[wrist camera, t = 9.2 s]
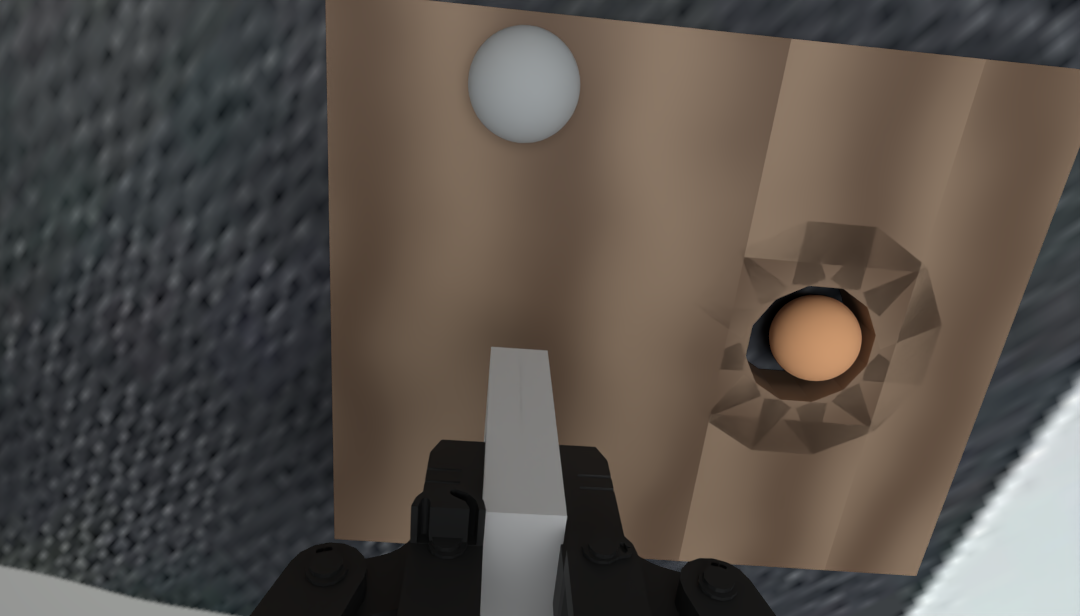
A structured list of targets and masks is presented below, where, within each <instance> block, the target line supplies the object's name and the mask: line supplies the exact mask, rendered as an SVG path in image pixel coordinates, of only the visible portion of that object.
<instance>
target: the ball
mask: <svg viewBox="0 0 1080 616" xmlns="http://www.w3.org/2000/svg"><path fill="white" fill-rule="evenodd" d="M861 342H862V334H861V328H860V325H859V323H858V321H857V319H856V317H855V316H854V314H853V313H852V311H851V310H850V309H849V308H848V307H847V306H845V305H844V304H843V303H841V302H839V301H838V300H836V299H834V298H831V297H827V296H823V295H806V296H802V297H799V298H796V299H794V300H792V301H790V302H788V303H787V304H785V305H784V306H783V307H782V308H781V309H780V310H779V311H778V312H777V314H776V315H775V317H774V319H773V321H772V323H771V326H770V331H769V344H770V349H771V351H772V354H773V356H774V358H775V359H776V361H777V362H778V364H779V365H780V366H781V367H782V368H783V369H784V370H786V371H787V372H788V373H790V374H791V375H793V376H795V377H797V378H800V379H804V380H809V381H824V380H829V379H832V378H834V377H837V376H839V375H841V374H842V373H844V372H845V371H846V370H848V369H849V368H850V367H851V365H852V364H853V363H854V362H855V360H856V358H857V356H858V354H859V352H860V348H861Z"/></svg>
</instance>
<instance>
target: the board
mask: <svg viewBox="0 0 1080 616" xmlns="http://www.w3.org/2000/svg"><path fill="white" fill-rule="evenodd" d="M517 25H531V26H537V27H540V28H543V29H545V30H547V31H549V32H551V33H553V34H554V35H556V36H557V37H558V38H559V39H561V40H562V41H563V42H564V43H565V45H566V46H567V47H568V48H569V50H570V51H571V53H572V54H573V56H574V58H575V61H576V63H577V66H578V70H579V75H580V94H579V99H578V103H577V106H576V108H575V110H574V113H573V114H572V116H571V118H570V119H569V121H568V122H567V123H566V124H565V126H563V127H562V128H561V129H560V130H559V131H558V132H557V133H555V134H554V135H552V136H550V137H548V138H546V139H544V140H541V141H537V142H533V143H517V142H511V141H508V140H505V139H503V138H501V137H499V136H497V135H495V134H494V133H492V132H491V131H490V130H489V129H487V128H486V127H485V126H484V125H483V123H482V122H481V121H480V120H479V118H478V117H477V115H476V113H475V111H474V109H473V107H472V104H471V101H470V97H469V91H468V77H469V70H470V66H471V63H472V61H473V58H474V56H475V54H476V53H477V51H478V49H479V48H480V47H481V45H482V44H483V43H484V42H485V41H486V40H487V39H488V38H489V37H491V36H492V35H493V34H495V33H497V32H498V31H500V30H502V29H505V28H507V27H511V26H517ZM326 59H327V118H328V177H329V236H330V295H331V354H332V413H333V472H334V531H335V539H344V540H359V541H375V542H391V543H407V542H408V541H409V540H410V526H411V505H412V503H413V501H414V499H415V498H416V497H417V496H418V495H419V494H420V493H422V492H423V488H424V483H425V477H426V471H427V466H428V460H429V455H430V452H431V451H432V449H433V448H434V447H435V446H436V445H437V444H438V443H439V442H440V441H441V440H460V441H477V442H484V432H485V419H486V406H487V393H488V380H489V368H490V355H491V347H503V348H518V349H532V350H547V351H548V358H549V366H550V375H551V383H552V392H553V400H554V409H555V417H556V426H557V434H558V443H559V445H573V446H590V447H596V448H597V449H598V450H599V451H600V453H601V454H602V455H603V456H604V457H605V458H606V460H607V461H608V465H609V470H610V474H611V479H612V483H613V487H614V492H615V496H616V501H617V505H618V510H619V514H620V519H621V523H622V528H623V532H624V536H625V537H626V538H627V539H628V540H629V541H630V542H632V543H633V545H634V547H635V549H636V551H637V554H638V555H639V556H640V557H641V558H643V559H659V560H675V561H692V560H695V559H698V558H714V559H717V560H721V561H724V562H727V563H729V564H738V565H753V566H769V567H785V568H801V569H816V570H832V571H848V572H864V573H879V574H895V575H911V576H916V575H917V572H918V569H919V567H920V564H921V562H922V559H923V556H924V554H925V551H926V548H927V546H928V543H929V541H930V538H931V535H932V533H933V530H934V527H935V525H936V522H937V520H938V517H939V514H940V512H941V509H942V506H943V504H944V501H945V499H946V496H947V493H948V491H949V488H950V485H951V483H952V480H953V478H954V475H955V472H956V470H957V467H958V464H959V462H960V459H961V457H962V454H963V451H964V449H965V446H966V443H967V441H968V438H969V436H970V433H971V430H972V428H973V425H974V422H975V420H976V417H977V415H978V412H979V409H980V407H981V404H982V401H983V399H984V396H985V394H986V391H987V388H988V386H989V383H990V380H991V378H992V375H993V373H994V370H995V367H996V365H997V362H998V360H999V357H1000V354H1001V352H1002V349H1003V346H1004V344H1005V341H1006V339H1007V336H1008V333H1009V331H1010V328H1011V325H1012V323H1013V320H1014V318H1015V315H1016V312H1017V310H1018V307H1019V304H1020V302H1021V299H1022V297H1023V294H1024V291H1025V289H1026V286H1027V283H1028V281H1029V278H1030V276H1031V273H1032V270H1033V268H1034V265H1035V262H1036V260H1037V257H1038V255H1039V252H1040V249H1041V247H1042V244H1043V241H1044V239H1045V236H1046V234H1047V231H1048V228H1049V226H1050V223H1051V220H1052V218H1053V215H1054V213H1055V210H1056V207H1057V205H1058V202H1059V199H1060V197H1061V194H1062V192H1063V189H1064V186H1065V184H1066V181H1067V178H1068V176H1069V173H1070V171H1071V168H1072V165H1073V163H1074V160H1075V157H1076V155H1077V152H1078V150H1079V147H1080V69H1071V68H1062V67H1053V66H1043V65H1034V64H1024V63H1015V62H1005V61H996V60H986V59H977V58H968V57H958V56H949V55H939V54H930V53H920V52H911V51H901V50H892V49H883V48H873V47H864V46H854V45H845V44H835V43H826V42H816V41H807V40H798V39H788V38H779V37H769V36H760V35H750V34H741V33H731V32H722V31H713V30H703V29H694V28H684V27H675V26H665V25H656V24H646V23H637V22H628V21H618V20H609V19H599V18H590V17H580V16H571V15H561V14H552V13H543V12H533V11H524V10H514V9H505V8H495V7H486V6H477V5H467V4H458V3H448V2H439V1H429V0H326ZM807 286H819V287H830V288H839V289H840V292H841V296H842V299H843V302H844V305H845V306H847V307H848V308H849V309H850V310H851V311H852V313H853V314H854V316H855V317H856V319H857V321H858V323H859V325H860V328H861V334H862V342H861V348H860V352H859V354H858V356H857V358H856V360H855V362H854V363H853V364H852V365H851V367H850V368H849V369H848V370H846V371H845V372H844V373H842V374H841V375H839V376H837V377H834V378H832V379H829V380H824V381H809V380H804V379H800V378H797V377H795V376H793V375H791V374H790V373H788V372H787V371H779V370H766V369H758V368H757V367H755V366H754V365H752V364H751V363H749V362H748V361H747V359H746V352H747V348H748V343H749V339H750V335H751V330H752V326H753V324H754V323H755V322H756V321H757V320H758V319H759V318H760V317H761V315H762V314H763V313H764V312H765V311H766V310H767V309H768V308H769V306H770V305H771V304H772V303H773V302H774V301H775V300H776V299H778V298H780V297H783V296H785V295H788V294H790V293H793V292H795V291H797V290H800V289H802V288H805V287H807Z"/></svg>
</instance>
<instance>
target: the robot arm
mask: <svg viewBox="0 0 1080 616" xmlns="http://www.w3.org/2000/svg"><path fill="white" fill-rule="evenodd" d="M553 614H554V616H776V615H775V614H774V612H773V611H772V610H771V608H770V607H769V605H768V604H767V603H766V601H765V600H764V599H763V597H762V596H761V595H760V593H759V592H758V590H757V589H756V588H755V586H754V585H753V584H752V582H751V581H750V580H749V579H748V578H747V577H746V576H745V575H744V574H743V573H742V572H741V571H740V570H739V569H738V568H736V567H734V566H732V565H731V564H729V563H727V562H724V561H721V560H717V559H714V558H698V559H695V560H692V561H689V562H688V563H687V564H686V565H685V566H684V567H683V568H682V569H681V573H680V572H677V571H673V570H670V569H667V568H663V567H660V566H657V565H655V564H652V563H650V562H648V561H646V560H645V559H643V558H641V557H640V556H639V555H638V554H637V551H636V549H635V547H634V545H633V543H632V542H630V541H629V540H628V539H627V538H626V537H625V536H624V532H623V528H622V523H621V519H620V514H619V510H618V505H617V501H616V496H615V492H614V487H613V483H612V479H611V474H610V470H609V465H608V461H607V460H606V458H605V457H604V456H603V455H602V454H601V453H600V451H599V450H598V449H597V448H596V447H590V446H573V445H559V443H558V434H557V426H556V417H555V409H554V400H553V392H552V383H551V375H550V366H549V358H548V351H547V350H532V349H518V348H503V347H491V355H490V368H489V380H488V393H487V406H486V419H485V432H484V442H477V441H460V440H441V441H440V442H439V443H438V444H437V445H436V446H435V447H434V448H433V449H432V451H431V452H430V455H429V460H428V466H427V471H426V477H425V483H424V488H423V492H422V493H420V494H419V495H418V496H417V497H416V498H415V499H414V501H413V503H412V505H411V526H410V540H409V541H408V542H407V543H406V544H405V545H404V546H402V547H401V548H399V549H397V550H395V551H393V552H391V553H388V554H385V555H381V556H377V557H372V558H367V559H365V558H364V556H363V555H362V554H361V553H360V552H359V551H358V550H357V549H356V548H354V547H351V546H349V545H346V544H342V543H325V544H320V545H314V546H312V547H310V548H308V549H306V550H304V551H302V552H300V553H299V554H298V555H297V556H296V557H295V558H294V559H293V560H292V561H291V562H290V563H289V564H288V566H287V567H286V568H285V570H284V571H283V572H282V574H281V575H280V576H279V578H278V579H277V580H276V582H275V583H274V584H273V586H272V587H271V588H270V590H269V591H268V592H267V594H266V595H265V596H264V598H263V599H262V600H261V602H260V603H259V604H258V606H257V607H256V608H255V610H254V611H253V612H252V614H251V615H250V616H553Z"/></svg>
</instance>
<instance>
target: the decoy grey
mask: <svg viewBox="0 0 1080 616" xmlns="http://www.w3.org/2000/svg"><path fill="white" fill-rule="evenodd" d="M468 91H469V97H470V101H471V104H472V107H473V109H474V111H475V113H476V115H477V117H478V118H479V120H480V121H481V122H482V123H483V125H484V126H485V127H486V128H487V129H489V130H490V131H491V132H492V133H494V134H495V135H497V136H499V137H501V138H503V139H505V140H508V141H511V142H517V143H533V142H537V141H541V140H544V139H546V138H548V137H550V136H552V135H554V134H555V133H557V132H558V131H559V130H560V129H561V128H562V127H563V126H565V124H566V123H567V122H568V121H569V119H570V118H571V116H572V114H573V113H574V110H575V108H576V106H577V103H578V99H579V94H580V75H579V70H578V66H577V63H576V61H575V58H574V56H573V54H572V53H571V51H570V50H569V48H568V47H567V46H566V45H565V43H564V42H563V41H562V40H561V39H559V38H558V37H557V36H556V35H554V34H553V33H551V32H549V31H547V30H545V29H543V28H540V27H537V26H531V25H517V26H511V27H507V28H505V29H502V30H500V31H498V32H497V33H495V34H493V35H492V36H491V37H489V38H488V39H487V40H486V41H485V42H484V43H483V44H482V45H481V47H480V48H479V49H478V51H477V53H476V54H475V56H474V58H473V61H472V63H471V66H470V70H469V77H468Z"/></svg>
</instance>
